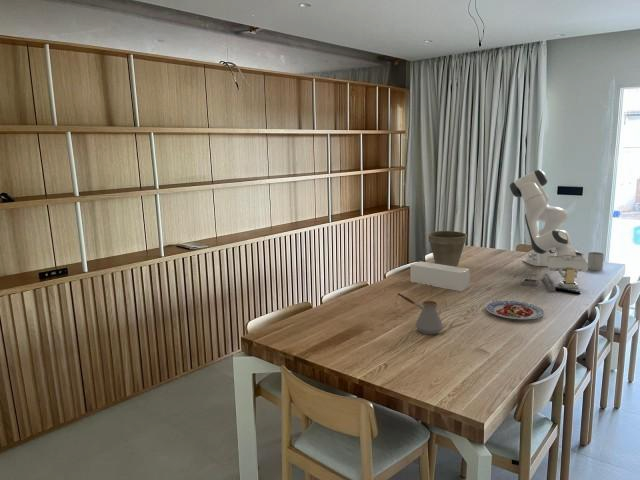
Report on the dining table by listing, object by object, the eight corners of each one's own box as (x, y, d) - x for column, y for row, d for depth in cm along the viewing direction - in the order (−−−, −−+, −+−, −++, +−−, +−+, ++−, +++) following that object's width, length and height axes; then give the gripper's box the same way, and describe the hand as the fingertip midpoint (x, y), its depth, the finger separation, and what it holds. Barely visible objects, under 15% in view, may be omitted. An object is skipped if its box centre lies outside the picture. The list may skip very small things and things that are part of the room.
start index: (559, 283, 267) (559, 280, 266) (573, 284, 265) (574, 281, 265) (563, 287, 260) (563, 284, 259) (578, 288, 258) (578, 284, 258)
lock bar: (563, 285, 265) (565, 267, 263) (571, 285, 264) (572, 267, 262) (565, 287, 261) (567, 268, 259) (573, 287, 260) (575, 269, 258)
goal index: (524, 281, 274) (524, 278, 273) (538, 283, 269) (538, 279, 269) (521, 284, 267) (521, 281, 267) (535, 286, 263) (536, 283, 263)
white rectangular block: (410, 282, 280) (410, 264, 278) (419, 278, 287) (419, 261, 285) (460, 291, 259) (461, 272, 257) (469, 287, 266) (469, 268, 264)
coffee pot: (446, 329, 204) (447, 296, 202) (436, 338, 195) (437, 304, 192) (402, 320, 217) (402, 289, 214) (390, 328, 207) (390, 296, 205)
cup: (598, 267, 301) (599, 252, 299) (604, 270, 293) (606, 254, 291) (584, 267, 302) (586, 252, 300) (590, 270, 294) (592, 255, 292)
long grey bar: (543, 278, 278) (543, 273, 277) (548, 279, 277) (549, 273, 276) (549, 291, 254) (549, 285, 253) (555, 291, 253) (555, 285, 252)
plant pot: (465, 271, 300) (466, 237, 296) (426, 268, 308) (426, 236, 304) (466, 262, 324) (467, 231, 320) (430, 260, 332) (430, 230, 327)
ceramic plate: (496, 301, 240) (496, 296, 240) (550, 311, 224) (550, 305, 224) (477, 315, 221) (477, 309, 220) (535, 327, 205) (535, 321, 204)
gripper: (547, 252, 268) (550, 273, 260) (586, 253, 264) (591, 274, 256) (544, 258, 273) (548, 279, 266) (583, 259, 269) (587, 280, 261)
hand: (569, 277), depth 261 cm, fingers open, 5 cm apart
